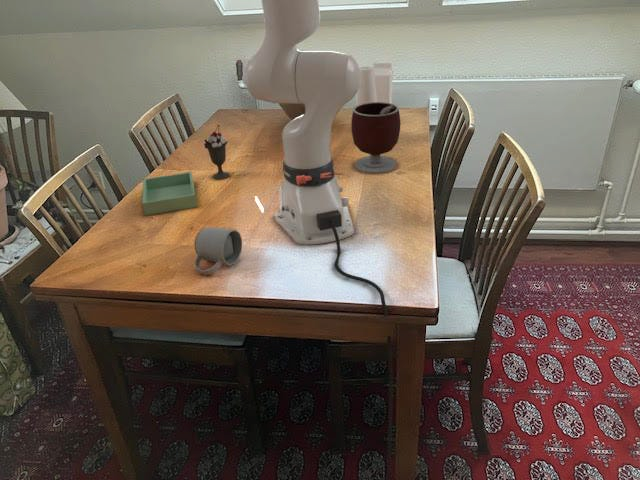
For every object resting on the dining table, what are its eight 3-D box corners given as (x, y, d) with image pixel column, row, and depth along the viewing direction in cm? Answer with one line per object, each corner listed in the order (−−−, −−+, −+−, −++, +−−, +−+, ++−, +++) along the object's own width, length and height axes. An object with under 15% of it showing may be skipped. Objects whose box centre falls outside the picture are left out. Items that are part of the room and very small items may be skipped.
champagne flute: (380, 143, 172) (381, 68, 160) (362, 147, 170) (361, 71, 158) (371, 137, 177) (371, 64, 165) (353, 141, 175) (351, 67, 163)
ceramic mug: (214, 247, 120) (208, 218, 116) (245, 253, 117) (240, 223, 113) (186, 273, 112) (179, 242, 108) (219, 280, 109) (213, 249, 105)
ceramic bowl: (348, 115, 200) (347, 88, 195) (315, 133, 184) (314, 105, 178) (300, 108, 211) (298, 83, 206) (265, 125, 194) (262, 98, 189)
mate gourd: (343, 163, 159) (341, 97, 149) (382, 153, 165) (383, 88, 154) (371, 180, 147) (370, 110, 137) (412, 169, 152) (414, 100, 142)
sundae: (234, 171, 158) (227, 122, 151) (229, 180, 153) (221, 130, 145) (213, 171, 159) (205, 123, 152) (207, 180, 153) (198, 131, 146)
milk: (375, 124, 189) (375, 61, 178) (392, 125, 187) (392, 61, 176) (371, 130, 184) (371, 65, 173) (389, 130, 182) (389, 65, 171)
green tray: (197, 206, 139) (195, 194, 137) (145, 215, 136) (142, 203, 134) (193, 182, 153) (191, 171, 151) (145, 190, 150) (143, 178, 148)
